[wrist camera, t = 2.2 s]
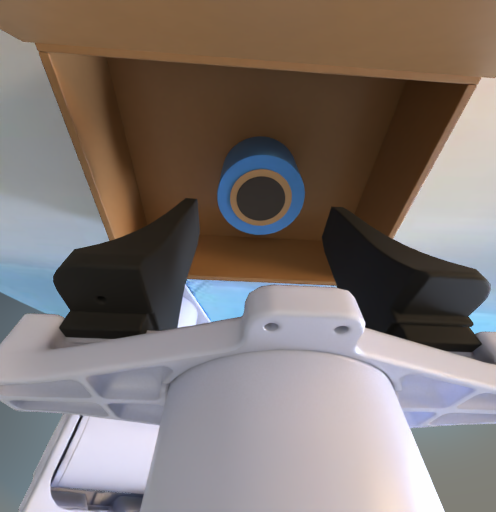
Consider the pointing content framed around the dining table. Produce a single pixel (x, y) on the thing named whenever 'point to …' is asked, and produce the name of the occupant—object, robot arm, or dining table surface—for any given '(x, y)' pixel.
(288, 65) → the carton
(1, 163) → the dining table surface
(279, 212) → the tape roll
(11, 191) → the dining table surface
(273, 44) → the flap
